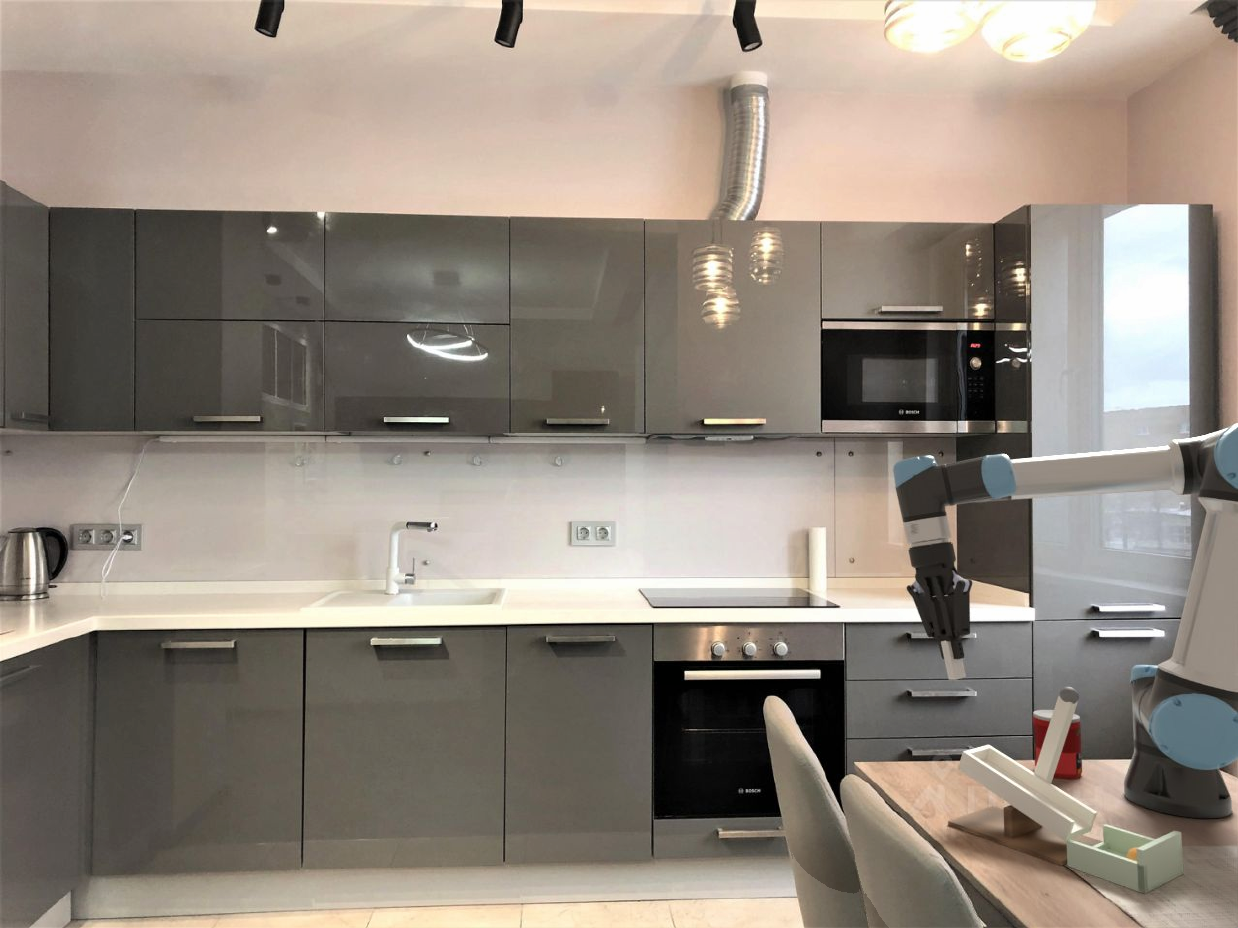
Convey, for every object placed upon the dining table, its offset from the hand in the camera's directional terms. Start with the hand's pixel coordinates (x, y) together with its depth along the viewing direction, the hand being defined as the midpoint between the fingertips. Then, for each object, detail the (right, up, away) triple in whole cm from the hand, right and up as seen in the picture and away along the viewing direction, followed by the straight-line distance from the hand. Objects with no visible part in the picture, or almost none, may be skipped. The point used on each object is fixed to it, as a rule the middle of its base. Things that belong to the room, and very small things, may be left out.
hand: (957, 677), depth 140 cm
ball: (+13, -17, -29) cm, 36 cm away
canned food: (+25, -22, +14) cm, 36 cm away
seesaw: (+5, -15, -15) cm, 21 cm away
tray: (+12, -19, -28) cm, 36 cm away
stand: (+4, -20, -16) cm, 26 cm away
